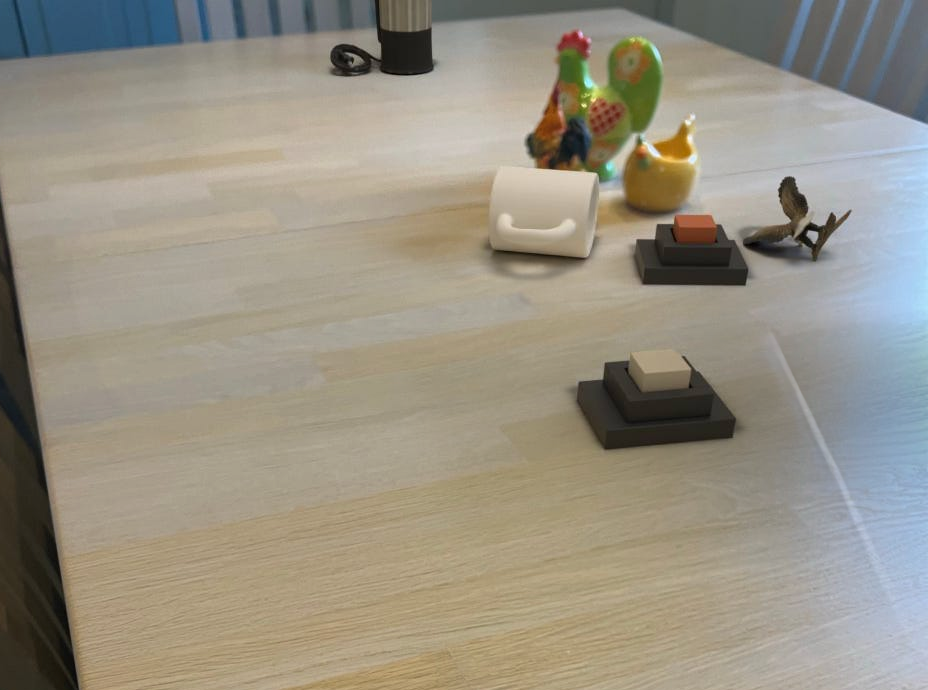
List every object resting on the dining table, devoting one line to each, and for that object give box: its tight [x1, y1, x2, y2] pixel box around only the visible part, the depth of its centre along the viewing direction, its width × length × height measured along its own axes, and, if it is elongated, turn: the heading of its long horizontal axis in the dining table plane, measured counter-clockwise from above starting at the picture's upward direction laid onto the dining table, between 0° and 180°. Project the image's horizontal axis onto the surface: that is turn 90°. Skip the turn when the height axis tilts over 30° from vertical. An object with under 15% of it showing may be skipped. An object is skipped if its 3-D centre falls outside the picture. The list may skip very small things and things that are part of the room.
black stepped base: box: [576, 355, 737, 451], centre depth 78 cm, size 10×8×4 cm
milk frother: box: [329, 0, 435, 75], centre depth 166 cm, size 14×16×15 cm
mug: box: [487, 165, 600, 259], centre depth 102 cm, size 12×10×8 cm
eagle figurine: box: [742, 175, 853, 262], centre depth 104 cm, size 8×7×9 cm
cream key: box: [628, 348, 691, 392], centre depth 76 cm, size 4×4×2 cm
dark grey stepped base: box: [634, 223, 750, 287], centre depth 101 cm, size 10×8×4 cm
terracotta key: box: [673, 214, 717, 243], centre depth 99 cm, size 4×4×2 cm
